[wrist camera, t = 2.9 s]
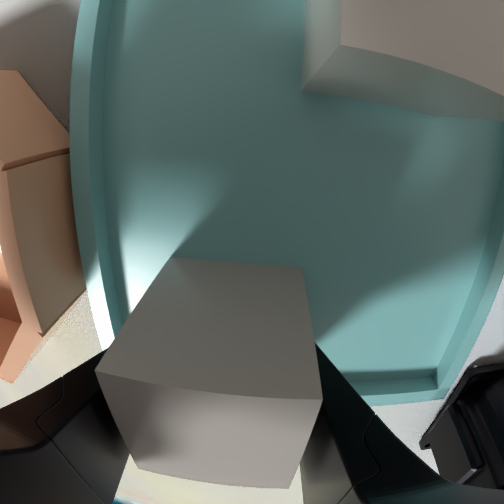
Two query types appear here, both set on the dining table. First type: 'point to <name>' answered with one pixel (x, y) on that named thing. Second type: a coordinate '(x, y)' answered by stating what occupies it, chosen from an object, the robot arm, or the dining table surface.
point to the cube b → (216, 374)
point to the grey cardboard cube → (408, 54)
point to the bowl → (34, 226)
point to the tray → (281, 186)
